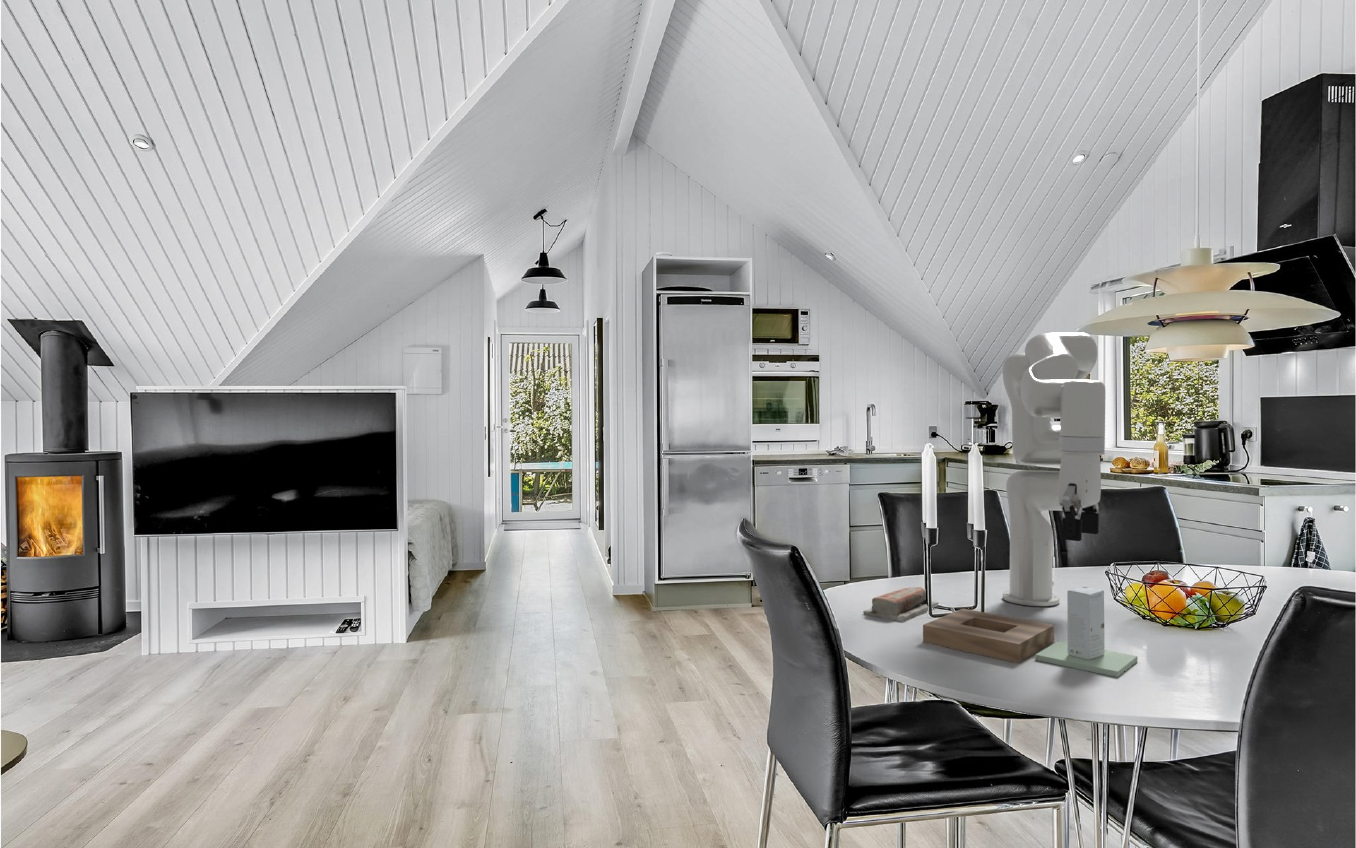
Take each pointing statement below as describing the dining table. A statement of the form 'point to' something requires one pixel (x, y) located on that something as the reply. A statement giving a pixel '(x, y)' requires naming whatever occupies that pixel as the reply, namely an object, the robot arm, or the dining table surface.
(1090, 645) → the skincare box
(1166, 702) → the dining table surface
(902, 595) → the pink and beige block
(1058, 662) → the mat
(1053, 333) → the robot arm
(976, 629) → the pocket block
